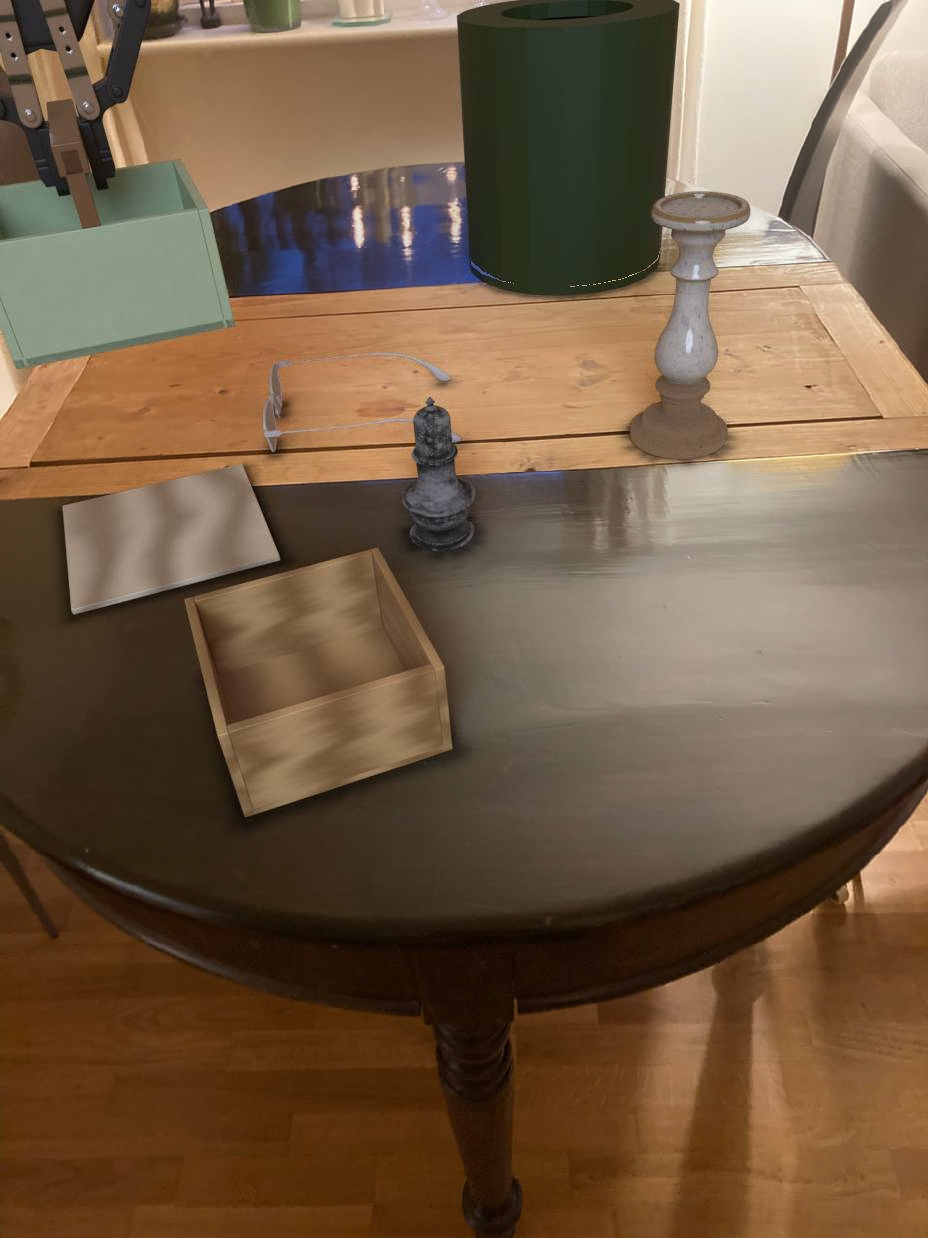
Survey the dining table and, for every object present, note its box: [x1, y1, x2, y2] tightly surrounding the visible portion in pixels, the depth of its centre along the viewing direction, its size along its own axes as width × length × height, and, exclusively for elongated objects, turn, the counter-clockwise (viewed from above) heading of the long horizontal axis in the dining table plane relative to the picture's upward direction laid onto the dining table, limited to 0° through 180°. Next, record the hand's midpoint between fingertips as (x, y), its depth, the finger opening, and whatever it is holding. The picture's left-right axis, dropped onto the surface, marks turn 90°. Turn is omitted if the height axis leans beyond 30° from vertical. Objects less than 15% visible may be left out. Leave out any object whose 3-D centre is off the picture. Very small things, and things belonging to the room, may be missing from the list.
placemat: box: [62, 463, 281, 615], centre depth 77 cm, size 16×16×1 cm
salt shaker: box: [401, 396, 477, 552], centre depth 71 cm, size 6×6×12 cm
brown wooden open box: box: [184, 547, 454, 818], centre depth 58 cm, size 13×13×7 cm
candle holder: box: [629, 190, 752, 460], centre depth 78 cm, size 9×9×20 cm
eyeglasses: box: [262, 352, 463, 453], centre depth 90 cm, size 15×18×4 cm
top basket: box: [0, 98, 236, 370], centre depth 57 cm, size 13×13×11 cm
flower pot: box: [456, 0, 681, 296], centre depth 114 cm, size 25×25×28 cm
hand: (83, 188), depth 56 cm, fingers closed on top basket
